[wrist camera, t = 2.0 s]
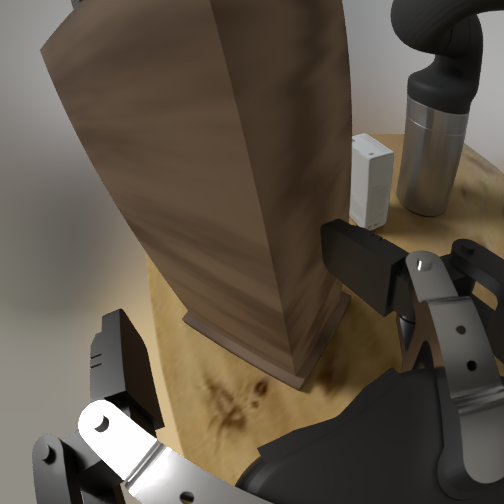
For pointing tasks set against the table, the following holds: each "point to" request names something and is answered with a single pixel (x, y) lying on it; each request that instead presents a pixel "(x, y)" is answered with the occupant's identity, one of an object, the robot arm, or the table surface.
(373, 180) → the skincare box
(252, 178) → the stand
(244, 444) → the table surface
